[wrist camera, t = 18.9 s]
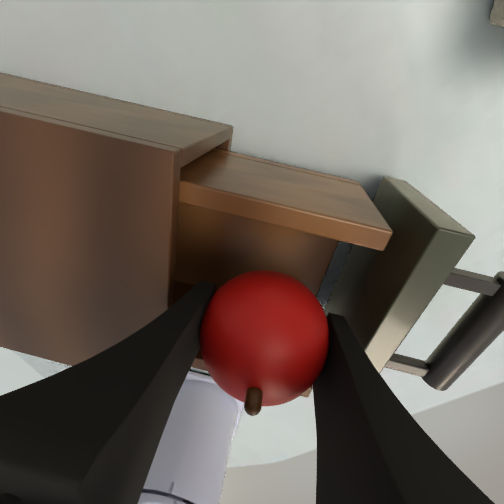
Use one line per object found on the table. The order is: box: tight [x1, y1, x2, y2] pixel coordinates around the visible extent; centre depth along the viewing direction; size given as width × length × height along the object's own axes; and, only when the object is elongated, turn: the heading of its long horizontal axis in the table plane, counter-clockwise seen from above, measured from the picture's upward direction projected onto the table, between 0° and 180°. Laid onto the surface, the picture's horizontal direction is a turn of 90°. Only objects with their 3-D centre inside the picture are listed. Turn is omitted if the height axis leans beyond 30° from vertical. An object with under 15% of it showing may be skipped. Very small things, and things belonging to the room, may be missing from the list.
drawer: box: [173, 148, 504, 397], centre depth 14 cm, size 18×10×6 cm, turn 79°
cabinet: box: [0, 73, 233, 366], centre depth 14 cm, size 14×12×8 cm
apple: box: [199, 270, 329, 416], centre depth 10 cm, size 5×5×5 cm
